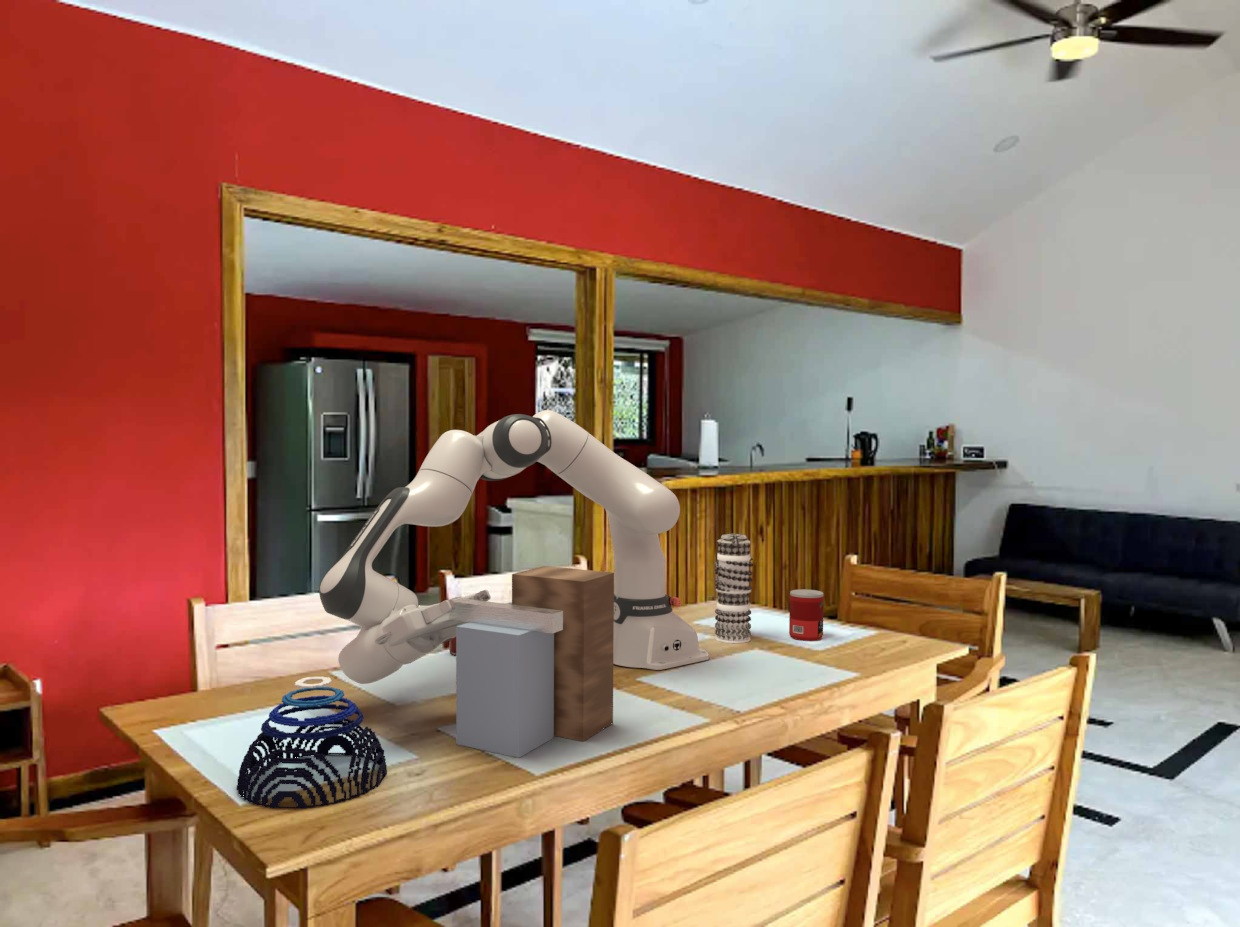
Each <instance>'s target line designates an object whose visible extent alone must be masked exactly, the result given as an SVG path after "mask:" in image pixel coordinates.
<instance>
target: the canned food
mask: <svg viewBox="0 0 1240 927" xmlns="http://www.w3.org/2000/svg"><path fill="white" fill-rule="evenodd" d="M789 592H790V593H789V619H788V620H789V621H788V622H789V629H788V630H789V632H788V633H789V636H790V638H791V639H793V640H795V641H796V640H797V641H802V642H803V641H805V642H817V641H820V640H822V639H823V636H824V611H825V610H824V609H825V608H824V601H825V600H824V597H825V595H824V592H823V591H820V590H817V589H816V590H815V589H806V588H805V589H793V590H790V591H789Z"/></svg>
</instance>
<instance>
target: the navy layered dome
mask: <svg viewBox="0 0 1240 927" xmlns="http://www.w3.org/2000/svg"><path fill="white" fill-rule="evenodd" d="M313 681H317V682H318V681H320V682H318V683H307V682H313ZM332 682H333V680H332V678H331V677H329V676H328V677H325V676H307V677H302V678H301V679H298V680H297V681H295V682H294V684H293V686H294V687H295V688H299V689H296V690H290V692H288V693H287V694H284V695H283V696H282V697H281V703H279V704H278V705H277V706H276V707H274V708H273V709H272V710H271V711H270V712H269V713H268V718H267V719H266V720H264V722H263V723H261V727H260V730H261V732H260V733H259V734H258V735H257V737H256V738H255V740H253V741H252V743H251V744H250V745H248V750H247V751H246V754H245V755H244V756H243V759H242V761H241V764H240V767H239V770H238V776H237V785H236V791H237V794H238V795H239V794H240V795H241V796H240V795H239V796H240V798H241V797H244V798H243V801H246V802H248V803H249V804H252V805H256V806H260V807H264V808H269V809H297V810H299V809H303V810H306V809H312V808H315V807H324V806H329V805H336V804H339V803H342V802H343V803H345V802H346V801H351V800H352V799H353V800H354V799H356V798H359V797H360V796H361V795H366V794H368V793H369V791H372V790H375V788H378V787H379V786H380V784H381V783H382V782H383V780H384V779H385V777H386V776H387V775H388V769H387V762H386V760H387V759H386V755H385V750H384V749H383V748H382V744H381V741H380V739H379V738H378V737H377V735H376V732H375V731H373V730H372V727H370V728H369V726H365V727H364V728H363V726H361V724H362V723H363V720H364V719H365V717H364V716H365V715H364V713H363V711H361V709H359V707H358V706H357V704H356V703H355V702H353V701H352V699H348V698H347V697H346V698H345V692H344V690H341V689H340V688H334V687H331V686H329V685H330V684H331V683H332ZM313 691H329V692H333V693H334V694H333V695H312V696H307V697H306V696H305V697H300V698H299V697H298V698H293V696H295V695H296V694H299V693H304V692H313ZM336 702H340V703H344V704H338V705H337V704H336ZM333 703H335V704H333ZM345 704H347V705H345ZM290 706H292V707H291V708H289V709H284V710H281V709H283V708H286V707H290ZM280 710H281V711H280ZM315 710H336V711H337V710H339V711H338V712H337V713H332V714H329V715H328V714H327V715H322V716H321V715H320V716H319V715H316V716H315V717H305V718H304V720H299V718H298V717H293V716H287V715H289V714H295V713H299V712H304V711H315ZM279 711H280V712H279ZM354 714H355V715H357V717H356V718H355V719H354V720H353V719H350V718H349V717H352V716H353V715H354ZM285 715H286V716H285ZM270 722H272V723H274V724H277V725H280V726H288V727H297V728H296V730H295V731H293V732H285V731H284V730H280V729H279V728H277V726H271V725H270ZM326 725H329V726H326ZM332 725H333V726H332ZM336 725H337V726H336ZM317 728H318V729H317ZM304 730H306V731H304ZM303 731H304V732H303ZM289 739H290V740H289ZM349 739H350V740H349ZM287 740H288V741H287ZM319 740H320V743H318V742H319ZM284 741H287V742H286V745H285V742H284ZM296 741H297V743H296V744H295V742H296ZM311 741H312V742H311ZM317 743H318V744H317ZM309 744H310V745H309ZM316 744H317V745H316ZM294 745H295V746H294ZM302 745H304V746H303V747H302ZM308 745H309V749H306V748H308ZM266 746H267V747H266ZM293 746H294V747H293ZM334 746H335V747H337V746H339V748H341V750H343V751H344V752H329V751H331V750H332V749H333V748H334ZM258 747H259V748H258ZM314 747H316V749H313V748H314ZM260 748H261V749H262V750H263V752H264V756H263V752H262V751H261V749H260ZM283 748H284V749H283ZM255 754H256V756H255ZM284 754H285V757H284ZM328 754H339V755H340V754H341V755H340V756H350V761H349V767H348V770H349V771H348V772H347V779H346V784H348V791H346V790H345V781H343V777H341V773H339V769H337V768H336V767H335V766H334V765H333V764H331V762H330V761H329V760H328V759H327V758H326V756H329V755H328ZM311 755H314V756H313V758H314V759H315V760H316V761H319V762H320V763H321V762H322V764H324V766H325V768H323V767H322V768H320V764H318V763H317V764H316V762H315V761H314V759H312V756H311ZM339 755H338V756H339ZM257 756H258V758H257ZM291 756H292V757H291ZM303 756H307V757H303ZM295 757H296V758H295ZM297 757H299V758H297ZM362 758H363V759H364V760H363V764H362V767H360V766H361V762H362ZM356 759H357V760H356ZM370 761H371V762H372V765H371V766H372V767H371V768H370V767H369V766H370ZM265 764H266V765H265ZM280 764H290V765H291V764H292V765H293V764H295V765H296V764H298V765H301V764H302V765H303V764H305V766H306V767H307V768H310V769H311V770H312V771H315V772H316V773H317V774H318V775H319V777H321V776H322V777H323V780H322V781H323V782H324V783H325V782H326V783H327V785H326V786H329V792H330V793H331V796H330V797H331V798H332V799H333V800H332V801H333V802H331V801H330V800H329V799H328V797H327V796H328V795H327V793H326V791H325V790H324V786H323V785H322V784H320V782H318V780H316V778H315V777H314V773H313V772H312V771H310V769H306V767H294V768H293V767H291V768H290V767H288V766H287V767H282V766H279V765H280ZM376 765H377V766H378V768H377V771H376ZM274 766H276V767H274ZM277 766H279V767H277ZM273 767H274V769H273V771H271V773H268V775H266V772H269V771H270V770H271V769H272V768H273ZM355 767H356V768H355ZM259 769H260V770H259ZM326 769H329V771H330V773H331V774H332V775H333V776H335V778H337V779H336V781H337V783H335V781H333V780H332V778H331V775H329V774H327V773H328V772H327V771H326ZM370 770H371V772H370ZM360 771H361V777H360V780H359V773H360ZM375 771H376V778H375V780H376V781H375V784H373V783H374V781H373V780H374V774H375ZM352 774H353V776H352V779H351V775H352ZM265 775H266V777H265V778H264V779H263V780H262V781H260V778H261V777H262V776H265ZM287 777H293V778H294V779H285V778H287ZM252 778H253V780H252ZM277 778H281V779H278V781H276V782H275V780H277ZM282 778H283V779H282ZM295 778H297V779H295ZM298 779H303V781H305V782H306V783H309V785H311V786H312V787H313V789H314V788H315V792H314V791H313V790H312V789H311V788H310V787H308V785H306V783H302V781H298ZM259 781H260V783H259V784H258V782H259ZM353 781H354V787H356V794H355V793H354V794H352V792H353V791H352V788H353V787H352V786H353V785H352V784H353V783H352V782H353ZM272 782H273V783H272ZM274 782H275V783H274ZM271 783H272V785H270V784H271ZM336 784H338V785H339V786H337V785H336ZM368 784H369V788H368V787H367V785H368ZM256 785H257V788H256V790H255V787H256ZM269 785H270V787H269V788H268V789H267V790H266V791H265V792H264V790H265V789H266V788H267V787H268V786H269ZM281 785H296V787H300V789H302V791H306V795H308V799H310V805H307V802H305V799H304V798H303V795H301V793H300V792H297V790H277V788H278V787H280V786H281ZM337 787H339V788H341V789H340V793H341V794H343V797H342V798H339V799H337V789H338V788H337ZM254 790H255V792H253V791H254ZM273 791H277V792H276V793H275V794H273ZM360 791H361V793H360ZM243 792H244V793H243ZM252 792H253V793H252ZM314 793H315V794H317V797H318V798H319V802H321V803H320V804H316V803H317V802H316V800H317V798H316V795H314ZM347 793H348V798H347ZM271 794H273V796H271ZM243 795H244V796H243ZM262 795H263V796H262ZM269 796H271V802H269ZM285 798H287V799H291V801H293V802H294V803H295V805H296V804H297V805H296V806H280V805H279V804H281V802H283V800H285Z"/></svg>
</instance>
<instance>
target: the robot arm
mask: <svg viewBox="0 0 1240 927" xmlns="http://www.w3.org/2000/svg"><path fill="white" fill-rule="evenodd" d="M536 462H538V463H540V464H542V465H544V466H545V467H546V468H547V469H548V470H550V471H551V472H553V473H554V474H555V475H556V476H558V477H559V478H561V479H562V480H563V481H564V482H566V483H567V484H568V485H570V486H571V487H573V488H574V489H575V490H576V491H577V492H579V493H580V494H582V495H583V496H584V497H586V498H588V499H589V500H591V501H592V502H594V503H595V504H597V505H599V506H601V507H602V508H604V510H605V512H606V514H607V517H608V518H607V519H608V524H609V525H608V526H609V533H610V538H611V544H612V551H613V562H614V645H613V665H616V666H621V667H627V668H639V669H641V668H642V669H648V670H655V671H656V670H657V671H661V670H665V669H666V670H667V669H671V668H675V667H680V666H685V665H689V664H693V663H694V664H695V663H699V662H704V661H708V660H709V659H710V656H709V655H710V654H709V652H708V651H707V650H706V649H704V648H701V647H700V644H699V637H698V633H697V631H696V629H695V628H694V627H693V626H692V625H691V624H690V623H688V622H687V621H686V620H684V619H683V618H682V617H681V616H679V614H676V612H674V611H673V607H675V608H680V607H681V605H682V603H683V601H682V599H681V598H679V597H676V596H670V595H668V594H667V593H666V574H667V572H666V568H667V567H666V563H667V562H666V558H665V553H664V552H663V549H662V546H661V541H660V537H659V534H662V533H665V532H667V531H670V530H671V529H672V528H673V527H675V525H676V523H677V522H678V520H679V517H680V513H681V506H680V501H679V500H678V497H677V496H676V494H675V493H673V491H672V490H670V489H669V488H668V487H666V486H665V485H664V484H662V483H661V482H659V481H657V479H655V478H653V477H652V476H651V475H649V474H647V473H646V472H645V471H643V470H641V468H639V467H637V466H635V465H634V464H632V463H631V462H629V461H628V460H626V459H624V458H622V457H621V456H619V455H618V454H617V453H615V452H614V451H613V450H611V449H610V448H609V447H608V446H606V445H605V444H603V443H602V442H601V441H600V440H598V439H597V438H596V437H595V436H594V435H592V434H590V432H589V431H587V430H586V429H584V428H583V427H581V426H580V425H578V424H577V423H576V422H575V421H572V420H571V419H570V418H567V417H565V416H564V415H562V414H560V413H558V412H556V411H554V410H552V409H551V410H550V409H544V410H541V411H539V412H537V413H536V414H534V415H533V416H530V415H527V414H522V413H518V414H517V413H516V414H514V413H513V414H510V415H507V416H504V417H503V418H501V419H499V420H498V421H495V422H493V423H491V424H490V425H487V427H486V428H485V429H484V430H483V431H481V432H479V433H478V434H476V435H475V434H474V435H473V434H472V433H470V432H467V431H465V430H461V429H451V430H447V431H446V432H443V433H442V434H441V435H440V436H439V438H438V439H437V440H436V442H435V443H434V444H433V446H432V447H431V449H430V450H429V451H428V454H427V455H426V457H425V458H424V460H423V462H422V464H421V466H420V468H419V470H418V472H417V473H416V475H415V477H414V478H413V480H412V481H411V482H409V483H408V484H407V485H406V486H403V487H402V486H401V487H396V488H394V489H393V490H392V491H391V492H389V493H388V494H387V495H386V497H385V498H383V499H382V500H381V502H380V503H379V505H378V506H377V507H376V509H375V510H374V511H373V512H372V514H371V515H370V516H369V518H368V519H367V520H366V522H365V524H364V525H363V526H362V528H361V529H360V531H359V532H358V534H356V536H355V537H354V539H353V540H352V541H351V543H350V544H349V546H348V547H347V548H346V550H345V551H344V553H343V554H341V556H340V557H339V558H338V559H337V561H336V562H335V563H333V565H332V566H331V567H330V568H329V570H327V571H326V573H325V575H324V576H323V578H322V580H321V582H320V584H319V587H318V595H319V599H320V601H321V604H322V607H323V609H324V611H325V612H326V613H327V614H330V615H332V616H335V617H338V618H339V619H342V620H347V621H349V622H351V623H353V624H355V625H357V626H359V627H360V628H361V629H360V630H359V632H358V633H357V636H356V637H354V638H353V639H352V640H350V642H348V643H347V644H346V645H345V646H344V647H343V648H342V649H341V650H340V652H339V653H338V665H339V668H340V669H341V672H342V673H343V674H344V675H345V676H346V678H348V679H349V680H351V681H353V682H355V683H357V684H361V685H367V684H372V683H374V682H378V681H380V680H382V679H383V680H384V679H385V678H387V677H389V676H391V675H393V674H394V673H396V672H398V671H399V670H400V669H401V668H402V667H403V666H404V665H409V664H411V663H413V662H416V661H417V660H419V659H421V658H422V657H425V656H426V655H428V654H430V653H431V652H433V651H434V650H435V649H437V648H438V647H439V646H441V645H442V644H444V643H446V642H448V641H449V640H450V639H452V638H454V637H456V626H459V625H462V624H466V623H469V622H465V621H457V620H450V619H449V612H451V611H452V610H454V609H455V604H454V602H453V600H456V599H453V600H452V598H450V599H446V600H443V601H441V602H439V603H435V604H431V605H420V601H419V598H418V595H417V594H416V593H415V592H414V591H412V590H410V589H408V588H407V587H405V586H404V585H402V584H400V583H398V582H396V581H393V580H392V579H390V578H388V577H387V576H384V575H383V574H382V573H381V574H380V573H379V572H377V571H375V570H374V569H373V562H374V560H375V558H376V557H377V556H378V554H379V553H380V552H381V550H382V549H383V548H384V545H385V544H386V543H387V541H388V540H389V539H390V537H391V536H392V534H393V532H395V530H396V529H398V528H399V527H400V526H402V525H406V524H408V525H415V526H422V527H444V526H448V525H450V524H452V523H454V522H456V521H457V520H458V519H459V518H460V517H461V516H462V515H463V513H464V512H465V510H466V508H467V506H468V504H469V502H470V500H471V497H472V495H473V492H474V490H475V488H476V485H477V482H478V481H479V480H481V479H482V480H484V481H490V482H496V481H497V482H498V481H503V480H505V479H507V478H510V477H512V476H515V475H517V474H520V473H521V472H522V471H524V470H525V469H526V468H528V467H530V466H532V465H534V464H535V463H536ZM460 597H461V598H463V599H471V600H480V601H488V602H489V601H490V600H491V594H490V591H489V590H488V589H485V590H480V591H479V592H476V593H473V594H469V595H468V594H467V595H465V596H464V595H463V596H460ZM457 599H460V598H457Z"/></svg>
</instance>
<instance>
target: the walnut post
mask: <svg viewBox="0 0 1240 927" xmlns="http://www.w3.org/2000/svg"><path fill="white" fill-rule="evenodd" d="M614 575H615V572H610V571H601V570H590V569H582V568H580V569H579V568H570V567H569V568H568V567H560V566H549V565H543V566H540V567H536V568H535V567H534V568H530V569H527V570H523V571H519V572H514V573H512V574H511V604H512V605H520V606H528V607H537V608H545V609H553V610H561V611H563V630H561V631H558V632H556V633H554V737H560V738H564V739H570V740H573V741H578V742H586V741H587V740H588V739H590V738H592V737H593V736H595V735H596V733H597V734H598V733H599V732H598V731H600V732H601V730H602V729H603V728H605V727H606V728H608V727H609V725H610V724H611V723H613V724H614V664H613V645H614ZM611 725H612V724H611ZM611 725H610V726H611ZM607 726H608V727H607ZM606 728H605V729H606ZM603 730H604V729H603ZM603 730H602V731H603ZM594 734H595V735H594ZM591 736H592V737H591ZM589 737H590V738H589ZM586 739H587V740H586Z"/></svg>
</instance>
